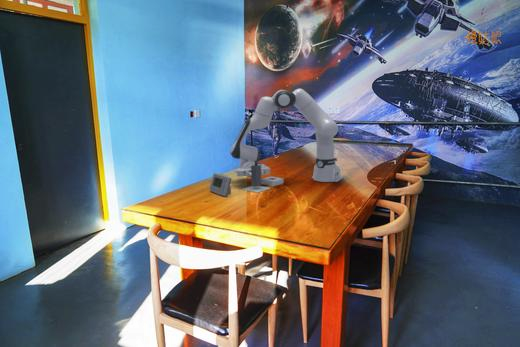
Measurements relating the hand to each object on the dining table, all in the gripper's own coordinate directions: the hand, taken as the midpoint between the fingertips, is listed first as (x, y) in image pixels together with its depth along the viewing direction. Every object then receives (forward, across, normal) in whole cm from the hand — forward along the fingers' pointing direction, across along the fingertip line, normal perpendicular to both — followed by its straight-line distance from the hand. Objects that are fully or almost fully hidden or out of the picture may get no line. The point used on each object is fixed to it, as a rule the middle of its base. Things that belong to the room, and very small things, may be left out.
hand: (256, 174), depth 205 cm
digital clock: (+1, -22, +10) cm, 24 cm away
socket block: (-10, +13, +9) cm, 19 cm away
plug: (-1, 0, +7) cm, 7 cm away
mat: (-1, 0, +9) cm, 9 cm away
